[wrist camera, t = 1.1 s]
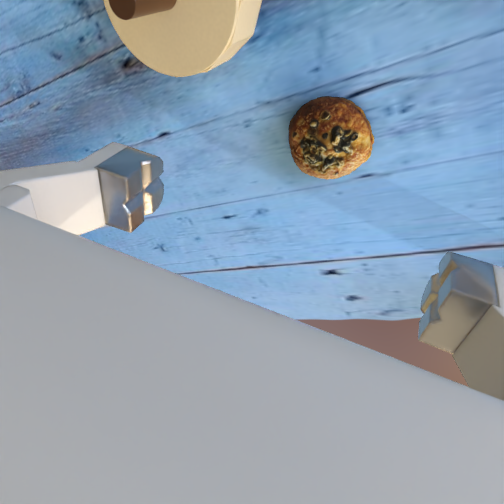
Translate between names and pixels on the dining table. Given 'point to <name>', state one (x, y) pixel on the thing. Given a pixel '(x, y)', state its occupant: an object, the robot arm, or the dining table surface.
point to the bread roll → (330, 137)
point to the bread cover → (183, 31)
